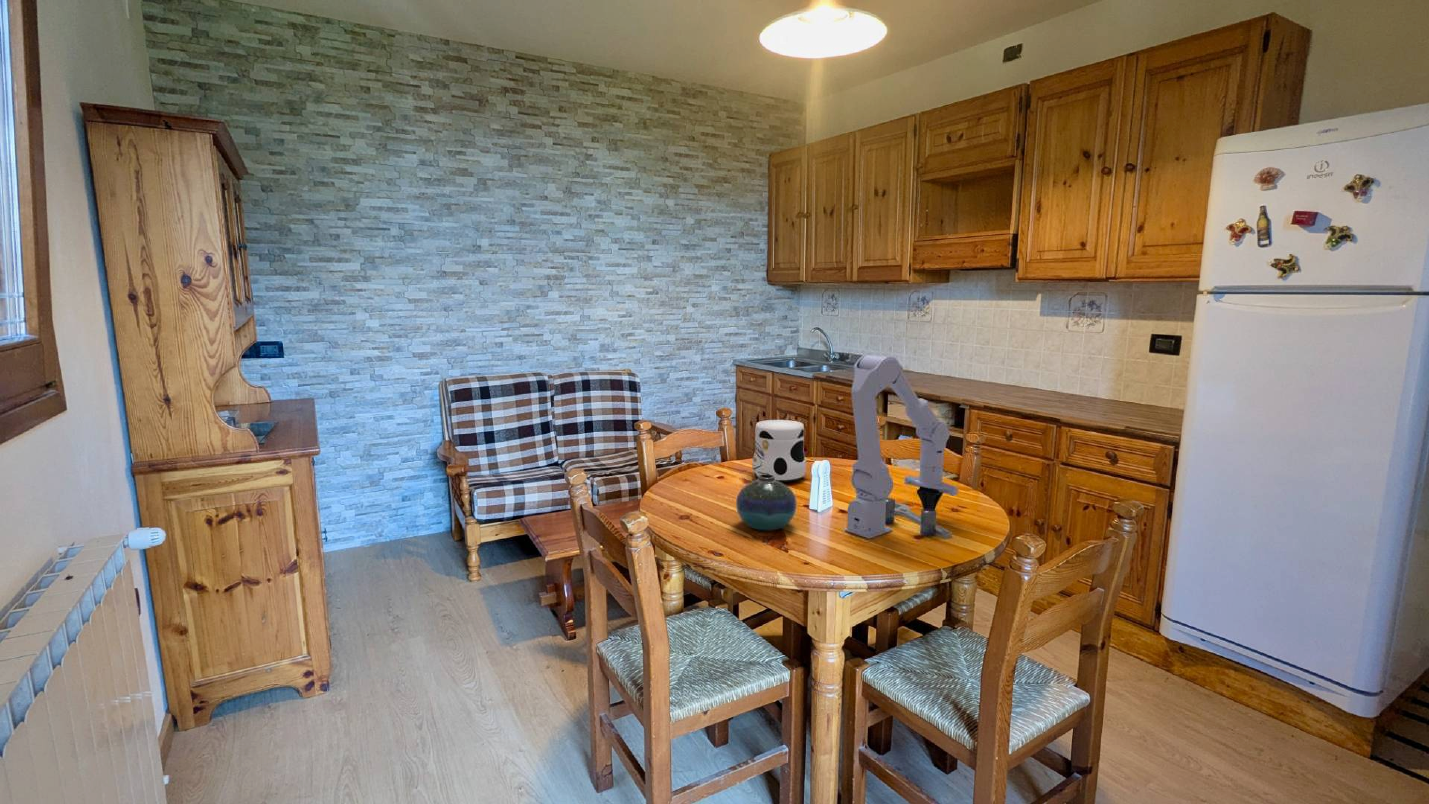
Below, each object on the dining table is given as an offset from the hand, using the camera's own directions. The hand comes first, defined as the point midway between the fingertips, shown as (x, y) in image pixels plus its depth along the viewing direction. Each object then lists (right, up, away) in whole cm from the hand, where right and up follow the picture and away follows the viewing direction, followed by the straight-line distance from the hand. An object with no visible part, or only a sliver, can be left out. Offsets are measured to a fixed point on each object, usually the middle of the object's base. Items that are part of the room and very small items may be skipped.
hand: (929, 515), depth 176 cm
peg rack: (-8, -2, -6) cm, 10 cm away
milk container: (-36, +5, +40) cm, 54 cm away
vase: (-43, -2, -5) cm, 44 cm away
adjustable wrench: (-4, -2, -1) cm, 5 cm away
